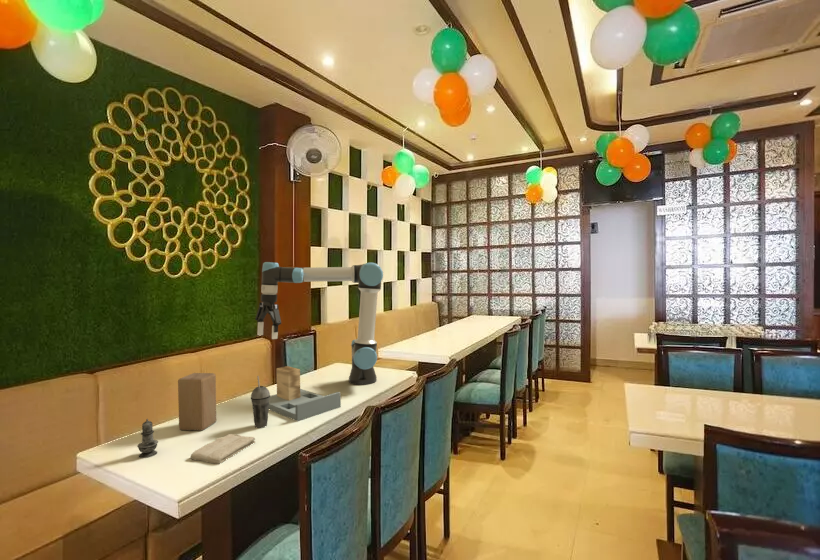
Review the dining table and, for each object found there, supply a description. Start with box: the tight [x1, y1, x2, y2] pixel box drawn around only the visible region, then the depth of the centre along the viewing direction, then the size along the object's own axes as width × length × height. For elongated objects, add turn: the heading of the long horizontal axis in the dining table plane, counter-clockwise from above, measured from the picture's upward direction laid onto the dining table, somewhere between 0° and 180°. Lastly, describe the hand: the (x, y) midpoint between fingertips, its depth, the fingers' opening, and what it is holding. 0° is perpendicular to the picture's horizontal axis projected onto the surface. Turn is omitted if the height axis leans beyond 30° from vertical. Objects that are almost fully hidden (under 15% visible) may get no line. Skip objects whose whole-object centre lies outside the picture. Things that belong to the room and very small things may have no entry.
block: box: [177, 372, 218, 431], centre depth 159 cm, size 10×10×20 cm
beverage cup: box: [250, 375, 271, 429], centre depth 159 cm, size 7×7×20 cm
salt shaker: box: [136, 418, 159, 459], centre depth 135 cm, size 6×6×12 cm
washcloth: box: [190, 433, 256, 465], centre depth 137 cm, size 12×18×3 cm, turn 162°
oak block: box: [275, 365, 301, 400], centre depth 187 cm, size 6×10×13 cm, turn 49°
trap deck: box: [268, 388, 342, 422], centre depth 182 cm, size 22×32×6 cm
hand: (267, 337), depth 199 cm, fingers open, 13 cm apart
